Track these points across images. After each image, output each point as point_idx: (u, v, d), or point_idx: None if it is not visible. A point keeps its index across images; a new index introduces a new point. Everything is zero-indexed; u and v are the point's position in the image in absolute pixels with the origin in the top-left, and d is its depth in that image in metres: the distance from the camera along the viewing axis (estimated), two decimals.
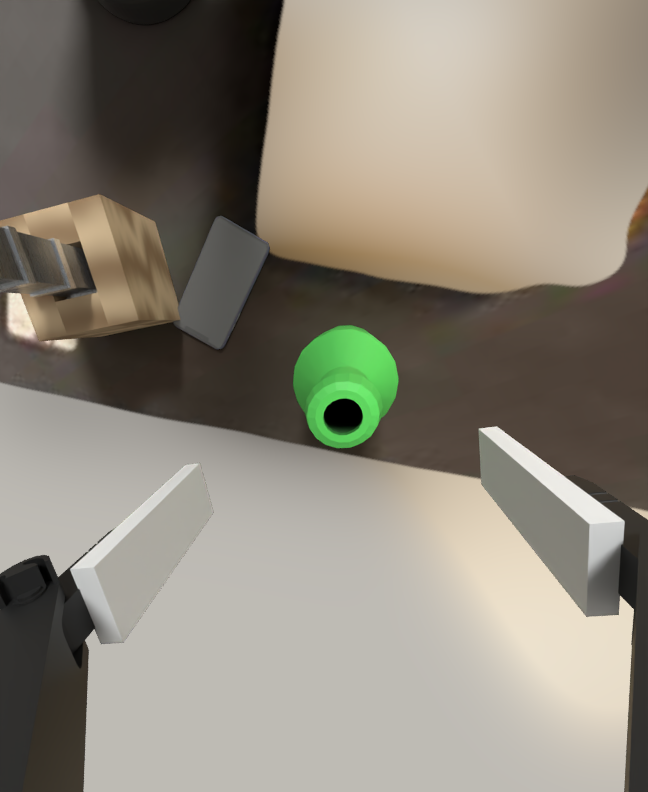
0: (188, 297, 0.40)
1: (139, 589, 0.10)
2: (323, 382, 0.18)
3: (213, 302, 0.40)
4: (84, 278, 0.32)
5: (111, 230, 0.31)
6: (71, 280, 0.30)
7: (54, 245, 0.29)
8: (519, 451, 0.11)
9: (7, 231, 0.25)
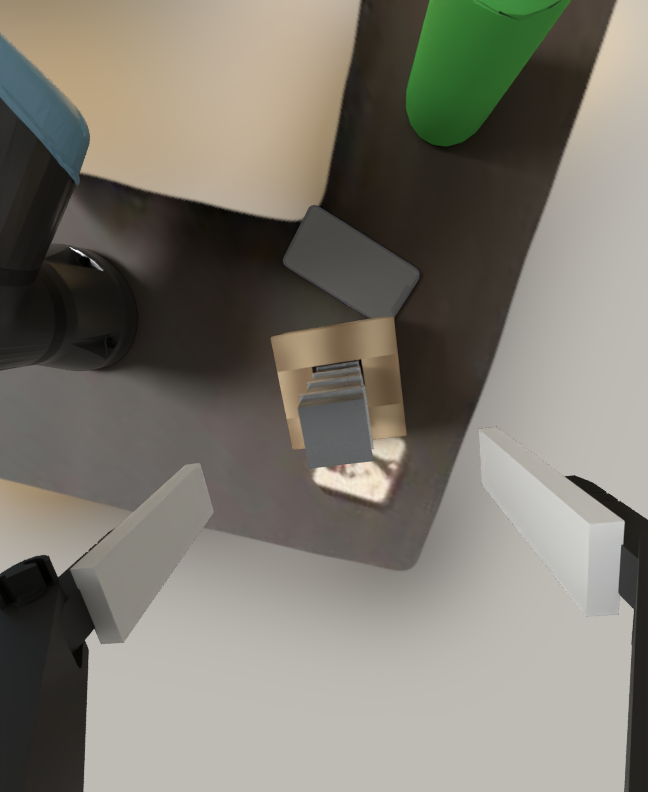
0: (360, 304, 0.38)
1: (139, 589, 0.10)
2: None
3: (367, 275, 0.37)
4: (347, 367, 0.31)
5: (302, 331, 0.31)
6: (352, 367, 0.29)
7: (318, 374, 0.29)
8: (519, 451, 0.11)
9: (312, 384, 0.25)
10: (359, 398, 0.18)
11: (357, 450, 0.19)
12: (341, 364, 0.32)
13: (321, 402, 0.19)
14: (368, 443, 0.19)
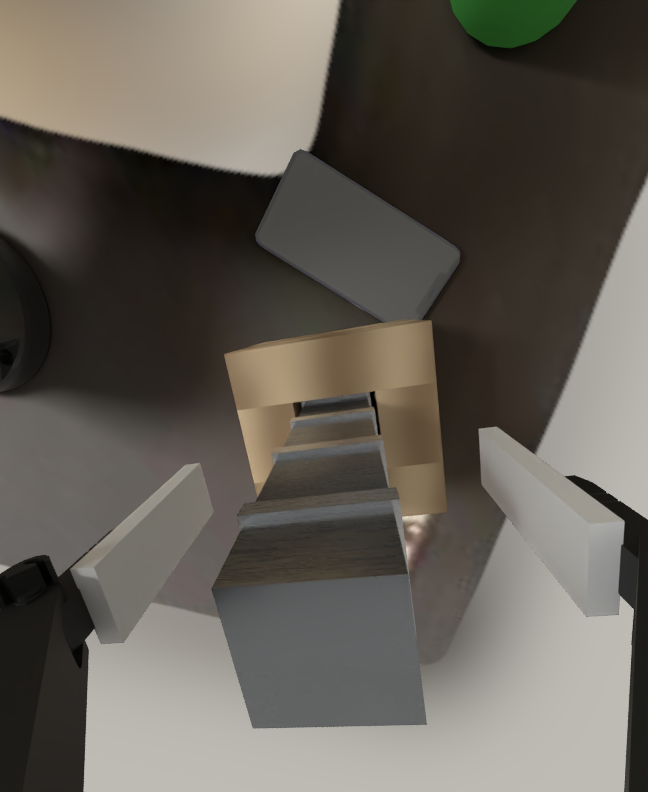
0: (370, 301, 0.25)
1: (139, 589, 0.10)
2: None
3: (382, 257, 0.24)
4: (352, 404, 0.18)
5: (276, 345, 0.18)
6: (361, 410, 0.16)
7: (302, 422, 0.16)
8: (519, 451, 0.11)
9: (282, 456, 0.12)
10: (394, 571, 0.06)
11: (384, 698, 0.07)
12: (341, 397, 0.20)
13: (283, 563, 0.07)
14: (416, 685, 0.07)
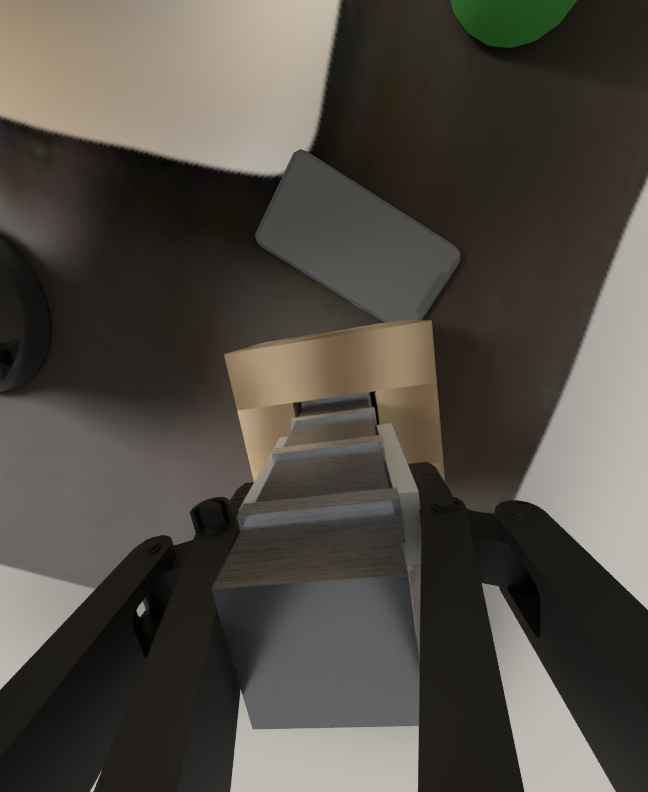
0: (370, 301, 0.25)
1: None
2: None
3: (382, 257, 0.24)
4: (352, 404, 0.18)
5: (277, 345, 0.18)
6: (361, 410, 0.16)
7: (302, 422, 0.16)
8: (391, 442, 0.14)
9: (282, 456, 0.12)
10: (394, 571, 0.06)
11: (384, 699, 0.07)
12: (342, 397, 0.20)
13: (283, 564, 0.07)
14: (416, 686, 0.07)
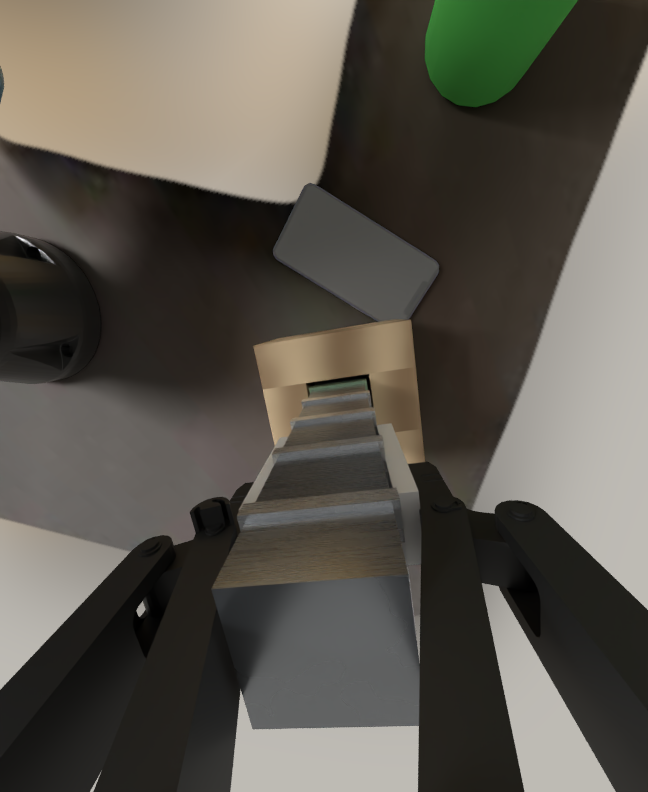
0: (367, 304, 0.31)
1: None
2: None
3: (375, 269, 0.30)
4: (352, 404, 0.18)
5: (294, 339, 0.24)
6: (361, 410, 0.16)
7: (302, 422, 0.16)
8: (391, 442, 0.14)
9: (282, 456, 0.12)
10: (394, 571, 0.06)
11: (384, 699, 0.07)
12: (342, 397, 0.20)
13: (283, 564, 0.07)
14: (416, 686, 0.07)
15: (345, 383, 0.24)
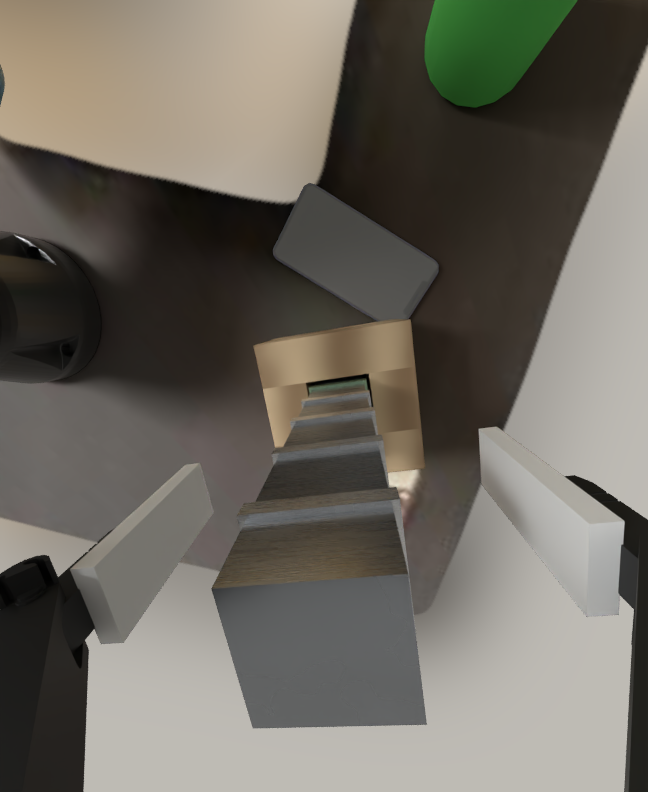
0: (366, 304, 0.31)
1: (139, 589, 0.10)
2: None
3: (375, 269, 0.30)
4: (352, 404, 0.18)
5: (294, 338, 0.24)
6: (361, 410, 0.16)
7: (302, 422, 0.16)
8: (519, 451, 0.11)
9: (282, 456, 0.12)
10: (394, 570, 0.06)
11: (384, 698, 0.07)
12: (341, 397, 0.20)
13: (283, 563, 0.07)
14: (416, 685, 0.07)
15: (345, 383, 0.24)
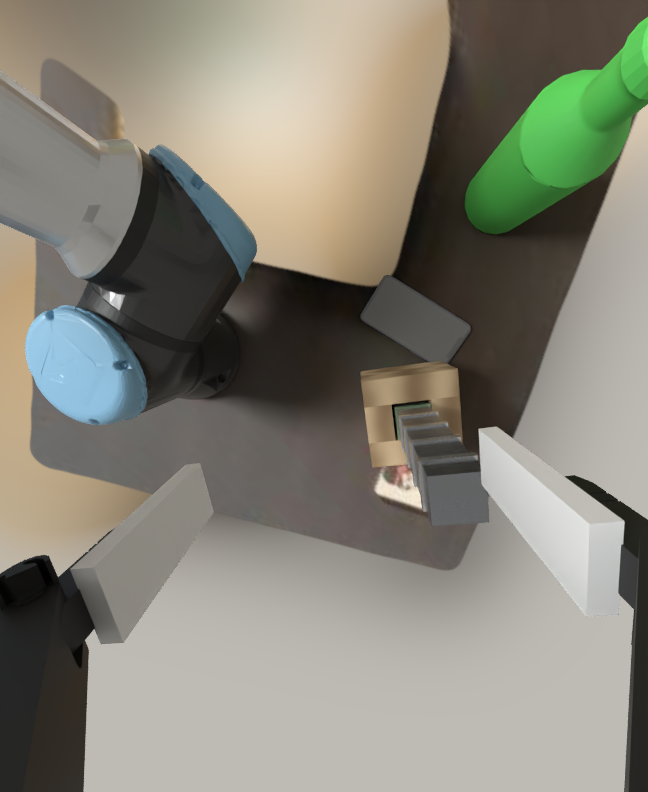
0: (422, 351, 0.47)
1: (139, 589, 0.10)
2: (633, 71, 0.19)
3: (428, 328, 0.46)
4: (431, 419, 0.34)
5: (386, 378, 0.40)
6: (440, 422, 0.32)
7: (410, 428, 0.32)
8: (519, 451, 0.11)
9: (415, 443, 0.28)
10: None
11: (476, 512, 0.23)
12: (422, 415, 0.36)
13: (445, 471, 0.23)
14: (486, 507, 0.22)
15: (417, 405, 0.40)
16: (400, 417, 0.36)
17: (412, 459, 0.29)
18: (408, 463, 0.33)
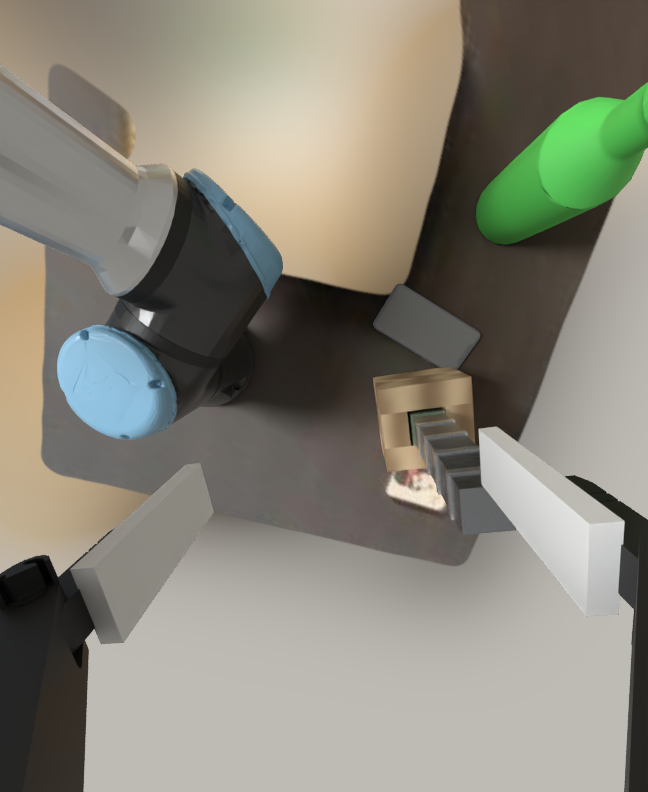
0: (433, 357, 0.48)
1: (139, 589, 0.10)
2: None
3: (439, 336, 0.48)
4: (449, 428, 0.36)
5: (402, 386, 0.41)
6: (459, 432, 0.34)
7: (431, 437, 0.34)
8: (519, 451, 0.11)
9: (439, 454, 0.30)
10: None
11: (504, 522, 0.24)
12: (439, 423, 0.37)
13: (475, 484, 0.24)
14: None
15: (432, 412, 0.41)
16: (418, 425, 0.38)
17: (436, 469, 0.30)
18: (429, 470, 0.35)
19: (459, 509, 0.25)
